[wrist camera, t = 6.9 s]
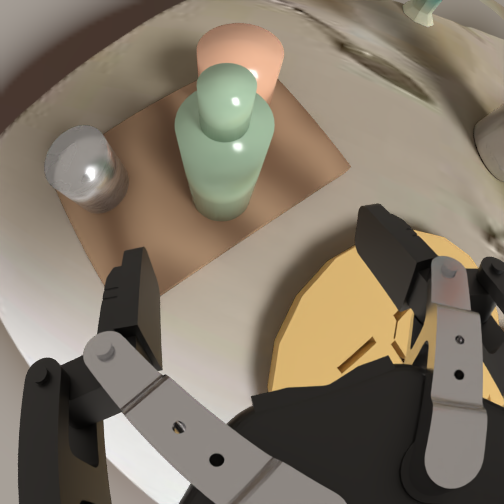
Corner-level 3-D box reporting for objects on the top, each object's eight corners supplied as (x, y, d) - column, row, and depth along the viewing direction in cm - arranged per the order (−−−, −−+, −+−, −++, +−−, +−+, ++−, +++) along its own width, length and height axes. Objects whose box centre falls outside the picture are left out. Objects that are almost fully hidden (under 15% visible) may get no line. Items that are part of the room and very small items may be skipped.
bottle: (229, 155, 25) (243, 32, 12) (262, 200, 25) (310, 101, 11) (180, 184, 25) (147, 74, 11) (212, 233, 24) (206, 156, 11)
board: (253, 63, 29) (254, 54, 27) (345, 172, 28) (351, 166, 26) (56, 179, 25) (49, 173, 24) (129, 317, 24) (124, 318, 23)
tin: (113, 147, 25) (91, 113, 19) (139, 190, 24) (118, 161, 18) (68, 180, 24) (36, 153, 18) (90, 225, 24) (58, 205, 18)
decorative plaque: (179, 371, 25) (353, 539, 23) (175, 379, 22) (360, 551, 21) (426, 174, 30) (521, 366, 28) (439, 166, 27) (534, 368, 26)
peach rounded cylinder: (244, 65, 27) (251, 15, 20) (283, 109, 27) (301, 61, 20) (187, 92, 26) (181, 41, 19) (224, 140, 26) (227, 93, 19)
